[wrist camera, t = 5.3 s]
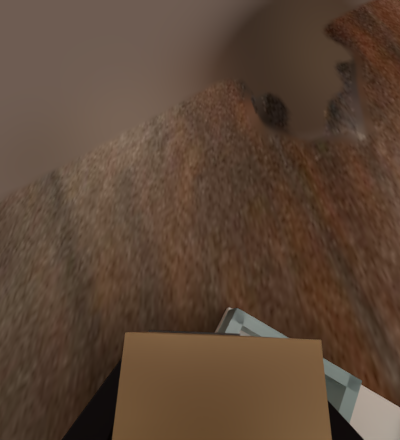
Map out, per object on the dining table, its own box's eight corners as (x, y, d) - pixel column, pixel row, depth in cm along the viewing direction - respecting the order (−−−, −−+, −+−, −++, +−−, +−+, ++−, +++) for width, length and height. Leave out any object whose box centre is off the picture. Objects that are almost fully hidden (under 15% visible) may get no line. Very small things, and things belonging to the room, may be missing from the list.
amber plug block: (236, 434, 14) (357, 625, 5) (140, 433, 14) (81, 635, 5) (235, 333, 16) (324, 335, 7) (150, 330, 16) (121, 327, 6)
